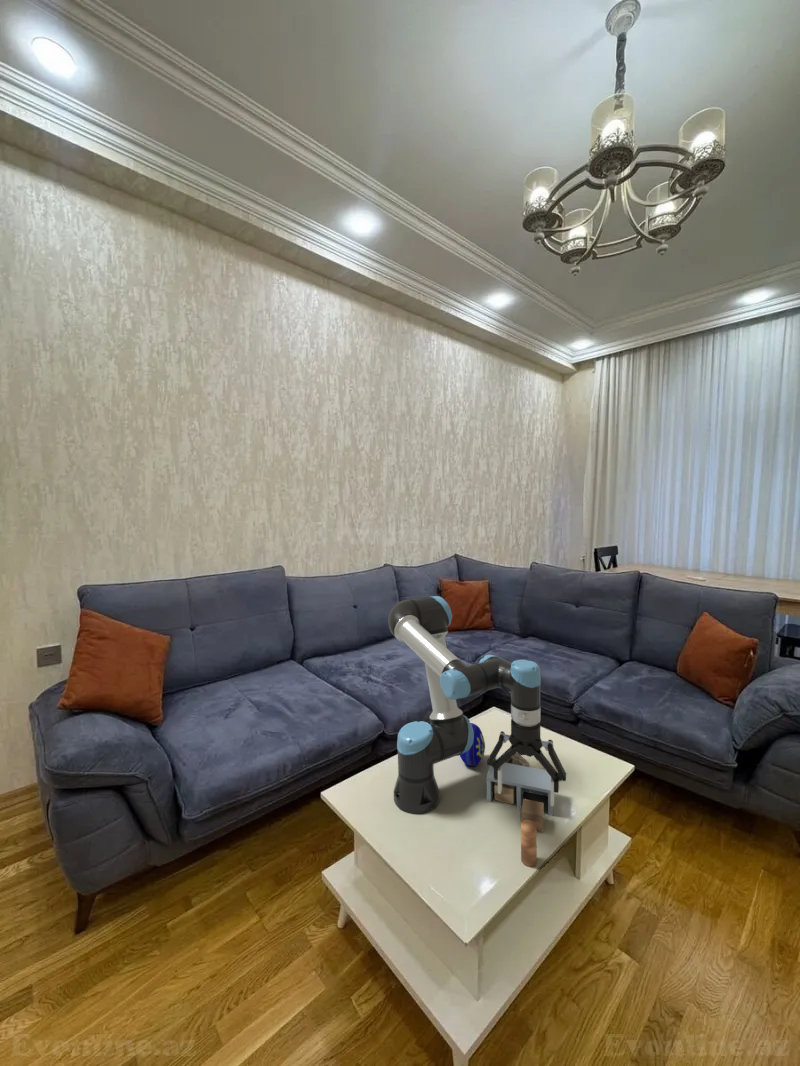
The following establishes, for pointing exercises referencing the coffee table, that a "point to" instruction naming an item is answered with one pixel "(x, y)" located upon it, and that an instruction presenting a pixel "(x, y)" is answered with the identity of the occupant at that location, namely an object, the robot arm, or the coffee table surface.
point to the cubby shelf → (522, 782)
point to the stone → (517, 760)
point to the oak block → (505, 793)
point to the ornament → (475, 748)
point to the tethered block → (530, 830)
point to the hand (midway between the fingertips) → (525, 796)
